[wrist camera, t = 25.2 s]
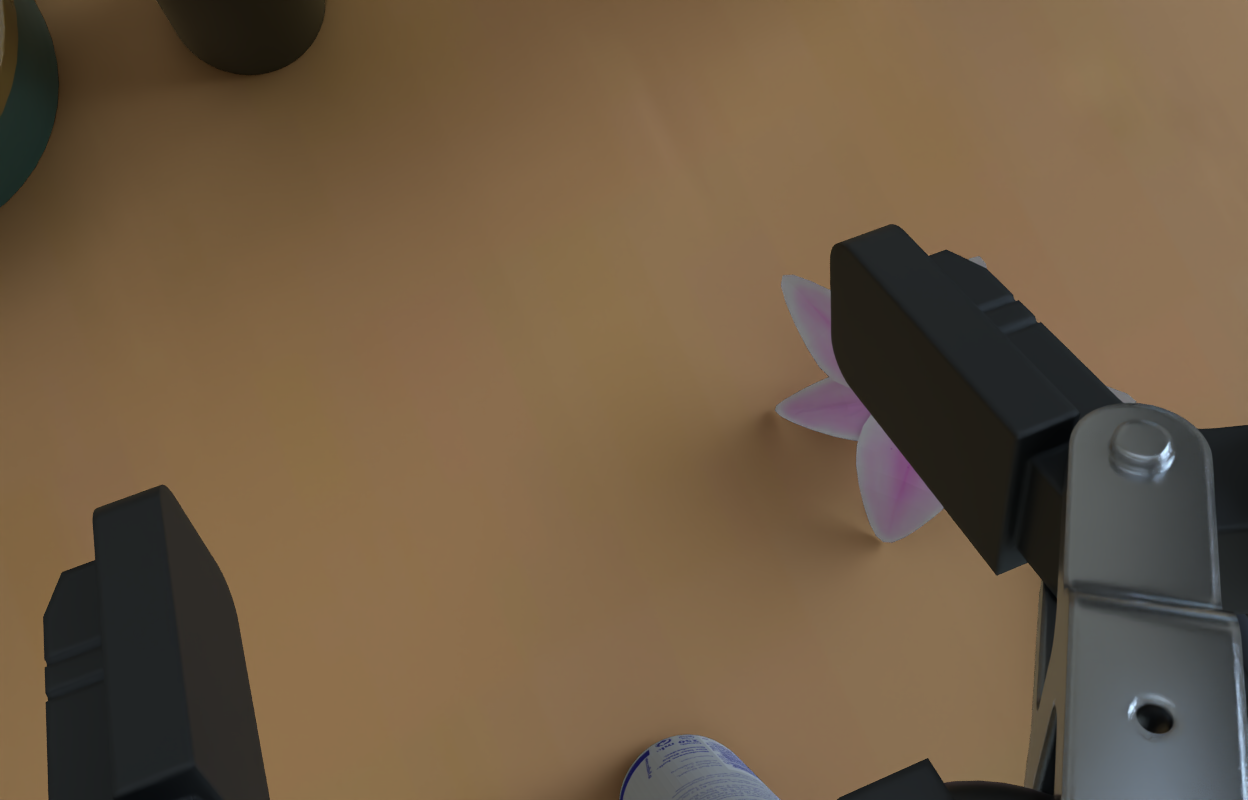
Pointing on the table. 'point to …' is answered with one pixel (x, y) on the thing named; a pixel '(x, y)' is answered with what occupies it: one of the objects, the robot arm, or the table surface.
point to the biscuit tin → (24, 92)
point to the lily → (857, 421)
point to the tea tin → (246, 31)
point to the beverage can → (691, 773)
